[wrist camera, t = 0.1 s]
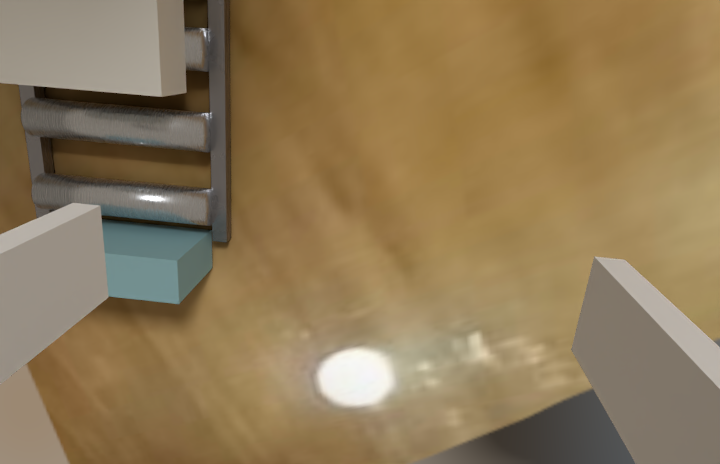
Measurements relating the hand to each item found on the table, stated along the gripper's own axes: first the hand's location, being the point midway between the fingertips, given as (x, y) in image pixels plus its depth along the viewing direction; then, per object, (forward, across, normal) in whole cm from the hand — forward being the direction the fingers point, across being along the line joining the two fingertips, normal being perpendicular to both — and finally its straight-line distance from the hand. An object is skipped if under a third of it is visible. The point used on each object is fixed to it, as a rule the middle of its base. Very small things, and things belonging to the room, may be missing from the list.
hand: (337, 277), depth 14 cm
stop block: (+28, -20, -11) cm, 36 cm away
